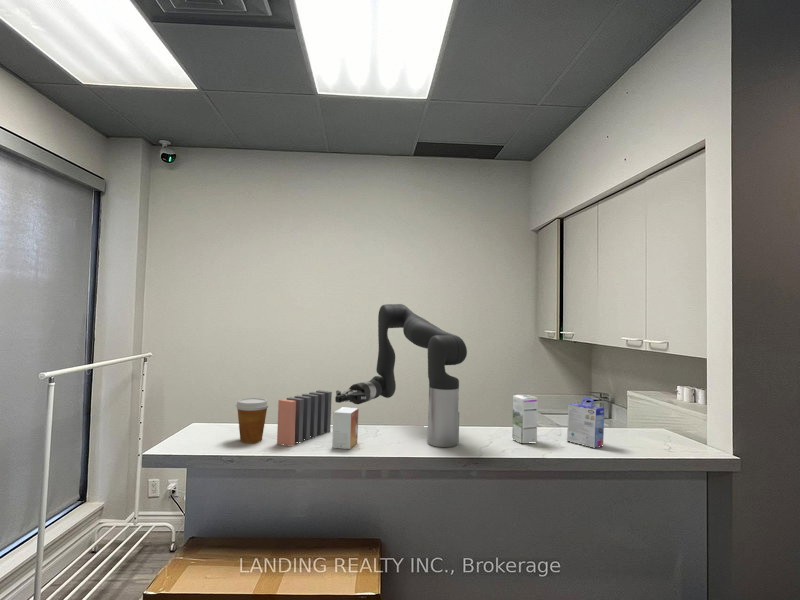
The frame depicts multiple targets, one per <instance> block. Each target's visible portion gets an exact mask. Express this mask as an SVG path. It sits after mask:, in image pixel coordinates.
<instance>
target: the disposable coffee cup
mask: <svg viewBox="0 0 800 600" xmlns="http://www.w3.org/2000/svg"><path fill="white" fill-rule="evenodd" d="M269 406H270V404H269V402H268V399H266V398H261V397H245V398H241V399H238V400H237V402H236V404H235V407H236V409H237V418H238V419H237V421H238V430H239V439H240V440H239V441H240V442H241V443H244V444H255V442H256V443H260V442H262V441H263V436H264V429H265V423H266V418H267V411H268V407H269ZM261 440H262V441H261ZM259 441H260V442H259Z"/></svg>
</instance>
